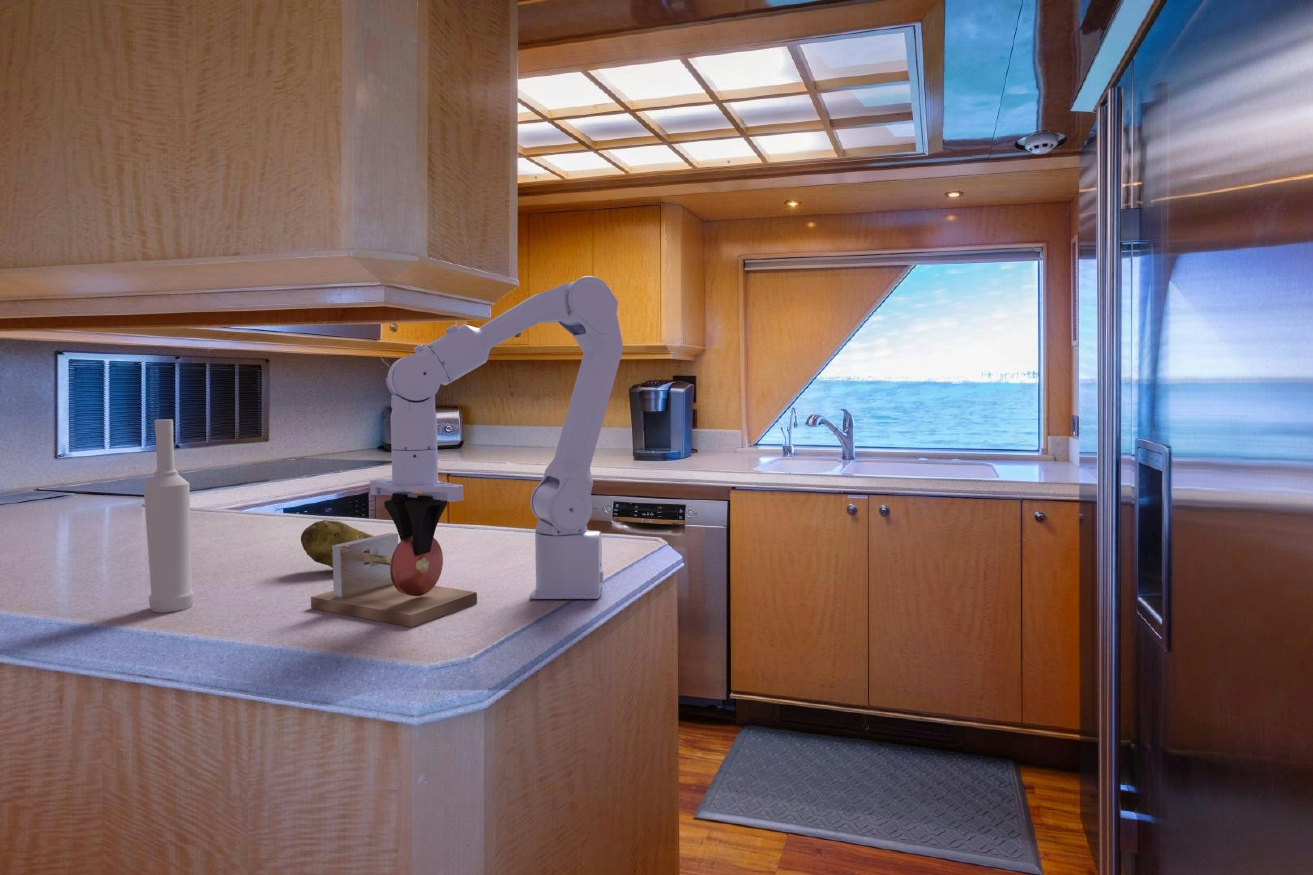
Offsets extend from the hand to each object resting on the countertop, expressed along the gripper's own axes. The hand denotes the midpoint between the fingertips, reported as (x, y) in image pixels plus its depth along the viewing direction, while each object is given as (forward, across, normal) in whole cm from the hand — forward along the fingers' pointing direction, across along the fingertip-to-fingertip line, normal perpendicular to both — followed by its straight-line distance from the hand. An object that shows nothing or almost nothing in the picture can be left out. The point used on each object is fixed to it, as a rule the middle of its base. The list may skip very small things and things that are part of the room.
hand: (417, 552), depth 105 cm
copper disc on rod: (+6, -5, 0) cm, 7 cm away
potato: (+8, -27, +11) cm, 30 cm away
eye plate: (+6, -9, 0) cm, 11 cm away
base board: (+8, -4, 0) cm, 9 cm away
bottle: (+8, -30, -14) cm, 34 cm away
